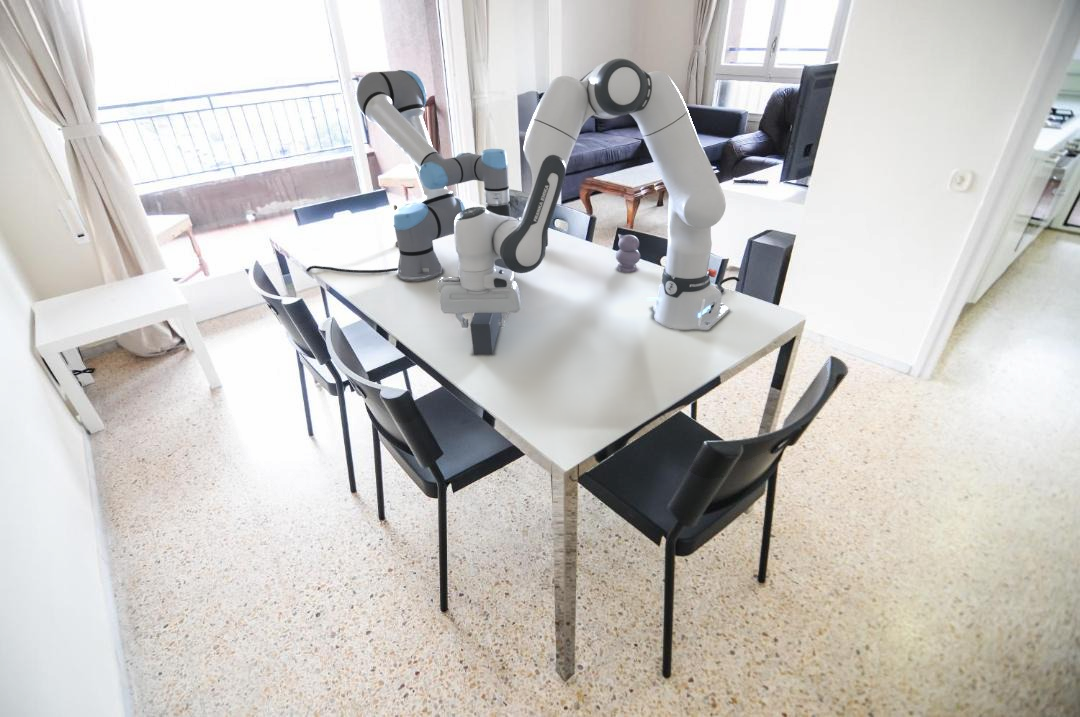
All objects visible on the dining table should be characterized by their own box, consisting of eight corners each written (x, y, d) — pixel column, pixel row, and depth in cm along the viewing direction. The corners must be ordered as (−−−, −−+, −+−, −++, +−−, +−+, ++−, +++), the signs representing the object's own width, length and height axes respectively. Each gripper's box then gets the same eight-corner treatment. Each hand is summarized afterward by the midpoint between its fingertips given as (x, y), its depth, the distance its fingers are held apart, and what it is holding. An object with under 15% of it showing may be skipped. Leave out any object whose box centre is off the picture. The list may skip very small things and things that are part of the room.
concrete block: (553, 252, 189) (552, 199, 179) (534, 258, 185) (532, 204, 175) (514, 236, 208) (511, 187, 198) (496, 241, 204) (492, 191, 193)
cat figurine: (643, 268, 173) (646, 234, 167) (631, 275, 168) (633, 240, 162) (623, 263, 178) (625, 230, 172) (610, 269, 173) (611, 235, 167)
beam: (498, 275, 173) (496, 250, 168) (512, 274, 172) (510, 250, 168) (473, 354, 127) (470, 324, 123) (492, 354, 127) (489, 324, 122)
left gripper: (455, 206, 152) (463, 271, 164) (536, 205, 151) (538, 271, 162) (460, 200, 159) (467, 263, 170) (538, 199, 157) (540, 262, 168)
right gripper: (432, 282, 119) (441, 332, 126) (517, 281, 118) (521, 332, 125) (438, 272, 124) (446, 321, 132) (519, 271, 123) (523, 320, 130)
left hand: (502, 267), depth 166 cm, fingers open, 13 cm apart
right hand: (483, 326), depth 128 cm, fingers open, 8 cm apart
